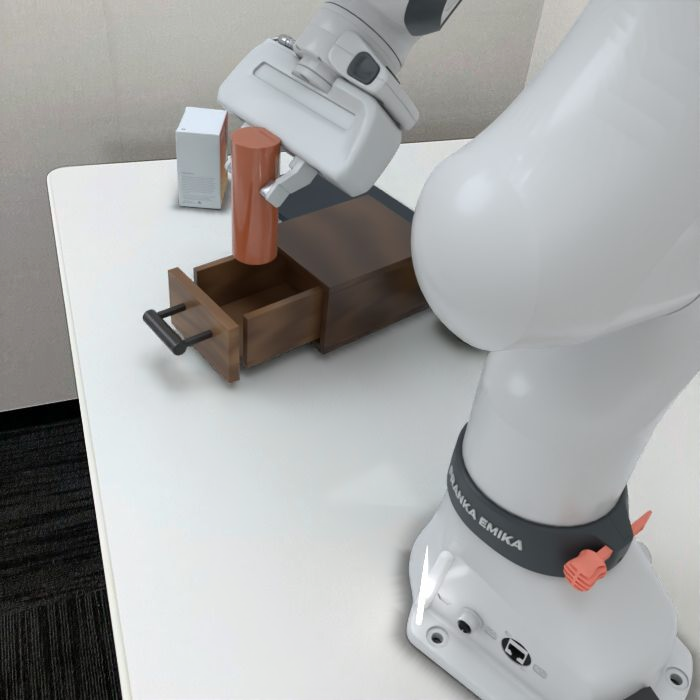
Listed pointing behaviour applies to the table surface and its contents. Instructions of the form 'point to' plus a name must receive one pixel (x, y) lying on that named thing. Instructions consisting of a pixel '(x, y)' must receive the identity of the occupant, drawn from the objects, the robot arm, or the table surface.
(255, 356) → the drawer
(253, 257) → the orange cylinder
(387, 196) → the mat
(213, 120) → the small box
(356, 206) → the cabinet
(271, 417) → the table surface
